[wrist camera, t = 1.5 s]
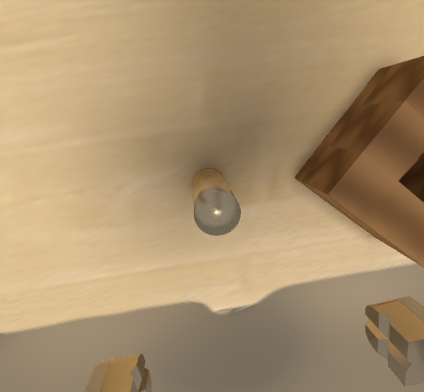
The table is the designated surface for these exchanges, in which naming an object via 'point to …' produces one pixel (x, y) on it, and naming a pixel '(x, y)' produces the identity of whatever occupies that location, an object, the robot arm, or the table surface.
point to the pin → (214, 203)
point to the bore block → (378, 160)
